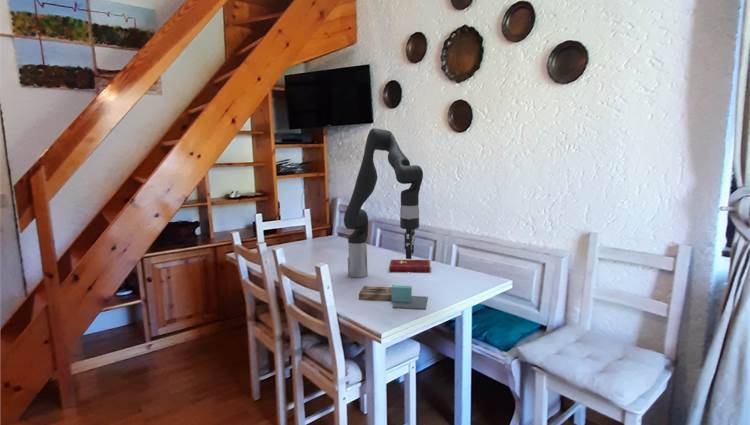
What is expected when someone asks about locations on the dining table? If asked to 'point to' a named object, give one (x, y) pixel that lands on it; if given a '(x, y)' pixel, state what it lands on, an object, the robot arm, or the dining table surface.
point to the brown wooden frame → (375, 293)
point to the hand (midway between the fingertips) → (409, 255)
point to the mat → (413, 303)
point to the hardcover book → (410, 266)
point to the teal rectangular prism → (401, 293)
